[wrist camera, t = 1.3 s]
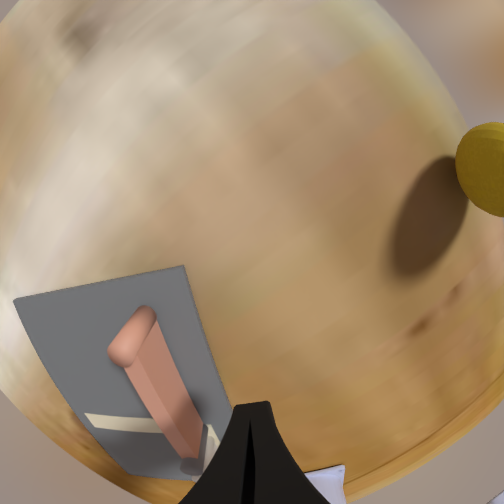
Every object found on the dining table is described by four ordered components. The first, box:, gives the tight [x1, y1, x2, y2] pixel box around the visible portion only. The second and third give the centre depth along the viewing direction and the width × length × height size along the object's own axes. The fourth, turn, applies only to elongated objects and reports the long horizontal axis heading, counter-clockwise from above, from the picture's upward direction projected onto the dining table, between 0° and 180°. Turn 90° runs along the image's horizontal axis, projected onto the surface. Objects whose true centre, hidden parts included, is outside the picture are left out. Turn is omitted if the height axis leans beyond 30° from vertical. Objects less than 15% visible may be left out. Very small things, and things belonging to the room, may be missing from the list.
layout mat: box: [13, 265, 233, 482], centre depth 16 cm, size 24×16×5 cm, turn 12°
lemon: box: [455, 122, 504, 217], centre depth 10 cm, size 6×6×8 cm
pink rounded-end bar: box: [107, 305, 208, 476], centre depth 15 cm, size 12×2×4 cm, turn 12°
